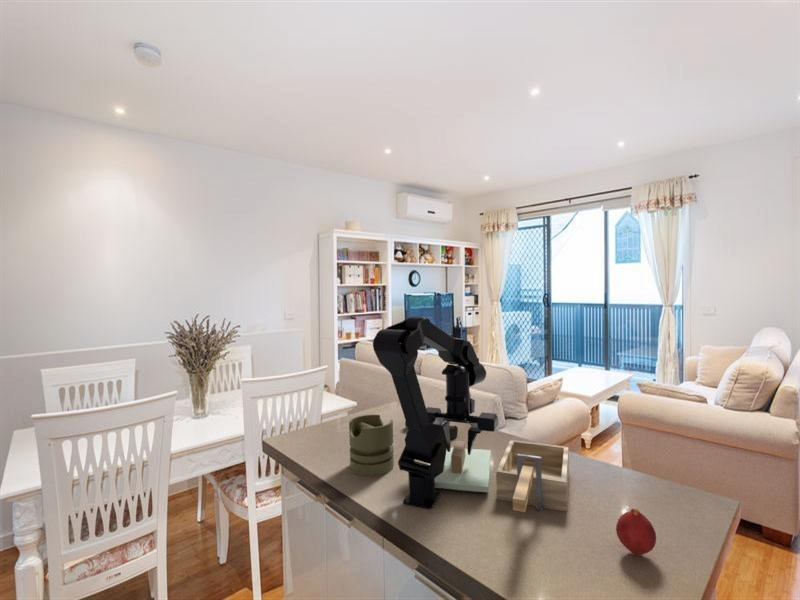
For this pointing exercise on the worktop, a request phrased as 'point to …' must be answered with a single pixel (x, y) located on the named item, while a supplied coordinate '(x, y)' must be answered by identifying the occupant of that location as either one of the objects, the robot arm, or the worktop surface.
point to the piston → (371, 446)
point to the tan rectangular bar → (523, 489)
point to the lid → (465, 469)
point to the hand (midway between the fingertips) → (459, 452)
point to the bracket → (538, 475)
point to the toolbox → (552, 473)
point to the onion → (636, 532)
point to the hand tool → (452, 430)
